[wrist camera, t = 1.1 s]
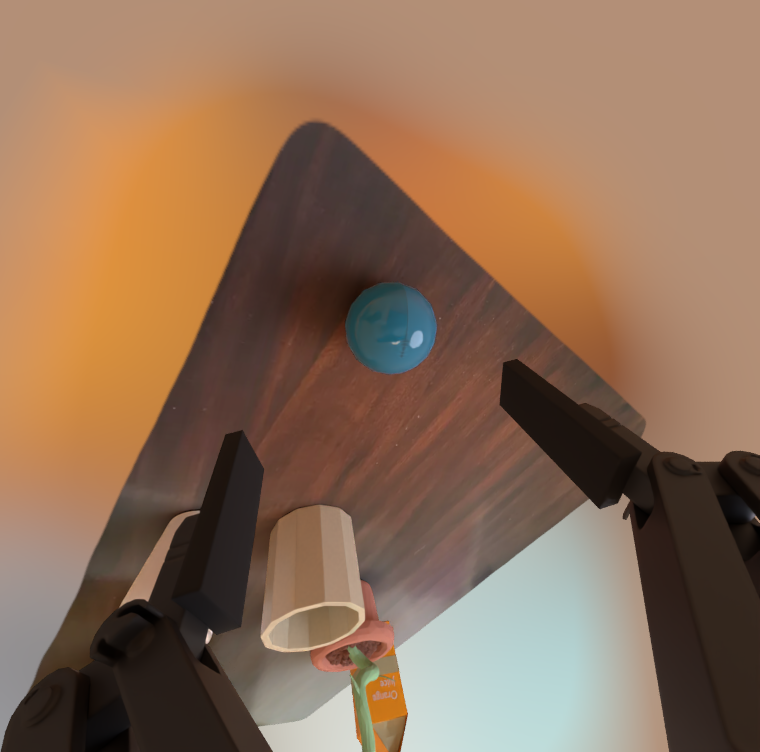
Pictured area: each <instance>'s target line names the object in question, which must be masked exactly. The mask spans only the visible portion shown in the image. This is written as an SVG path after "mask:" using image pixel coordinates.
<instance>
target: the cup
mask: <svg viewBox="0 0 760 752" xmlns="http://www.w3.org/2000/svg"><path fill="white" fill-rule="evenodd" d="M198 513H200V511H189V512H185V513H182V514H180V515H177V516H176V517H174V518H173V519H172V520H171V521H170V522H169V524H168V526H167V527H166V529H165V531H164V532H163V534H162V536H161V537H160V539H159V541H158V542H157V544H156V546H155V548H154V549H153V551H152V553H151V554H150V556H149V558H148V559H147V561H146V563H145V564H144V566H143V568H142V569H141V571H140V573H139V574H138V576H137V578H136V579H135V581H134V583H133V584H132V586H131V588H130V589H129V591H128V593H127V595H126V596H125V598H124V600H123V601H122V603H121V605H120V607H121V606H122V605H124V604H125V603H127V602H130V601H132V600H135V599H145V600H146V601H147V602H148V601H149V598H150V595H151V593H152V590H153V588H154V585H155V583H156V580H157V577H158V575H159V572H160V570H161V567H162V565H163V563H164V562H165V560H164V559H165V557H166V554H167V552H168V550H169V549H170V547H169V546H170V544H171V541H172V539H173V536H174V534H175V531H176V530H177V529H178V527H179V526H180V525H181V523H182V522H183V520H184V519H185V518H186V517H188V516H191V515H195V514H198ZM120 607H119V608H120ZM211 636H212V631H211V630H210V629H209V628H208V633H207V637H206V642H205V643H206V644H207V643H208V642H209V641H210V639H211Z"/></svg>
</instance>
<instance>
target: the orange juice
mask: <svg viewBox="0 0 760 752" xmlns="http://www.w3.org/2000/svg"><path fill="white" fill-rule="evenodd" d="M386 623H388V624H389V621H386ZM373 663H375V664H376V665H377V666H378V668H379V672H380V673H379V675H382V676H386V677H388V678H391V679H393V680H395V681H393V680H390V679H387V678H384V677H378V678H377V679H376V680H374V681H371V682H369V683H368V684H367V685H366V696H367V702H368V707H369V711H370V715H371V720H372V726H373V731H374V737H375V752H400V751H401V746H402V741H403V736H404V731H405V726H406V721H407V715H408V713H407V709H406V704H405V699H404V694H403V689H402V684H401V679H400V674H399V668H398V663H397V658H396V654H395V649H394V645H393V646H392V648H391V649H390V650H389V651H388V652H387V653H386V654H385V655H384V656H383V657H381V658H380V659H378V660H376V661H374V662H373ZM360 670H361V669H360V668H356V669H351V670H350V673H351V676H353V679H354V680H355V677H356V676H357V674H358V673H359V671H360ZM351 685H352V695H353V703H354V713H355V722H356V733H357V739H358V740H359V742H360V743H361V745H362V739H361V733H360V728H359V722H358V717H357V712H356V707H355V699H354V691H353V687H354V683H353V681H352V679H351Z"/></svg>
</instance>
